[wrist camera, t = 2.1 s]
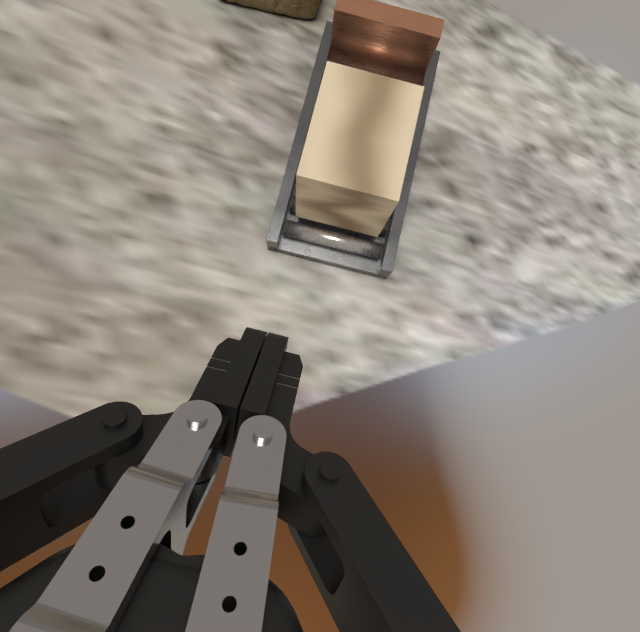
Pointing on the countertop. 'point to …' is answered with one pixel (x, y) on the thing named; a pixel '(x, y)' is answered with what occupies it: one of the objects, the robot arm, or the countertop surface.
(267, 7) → the stone block
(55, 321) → the countertop surface
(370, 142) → the birch slab
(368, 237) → the roller track
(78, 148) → the countertop surface
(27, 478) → the robot arm
